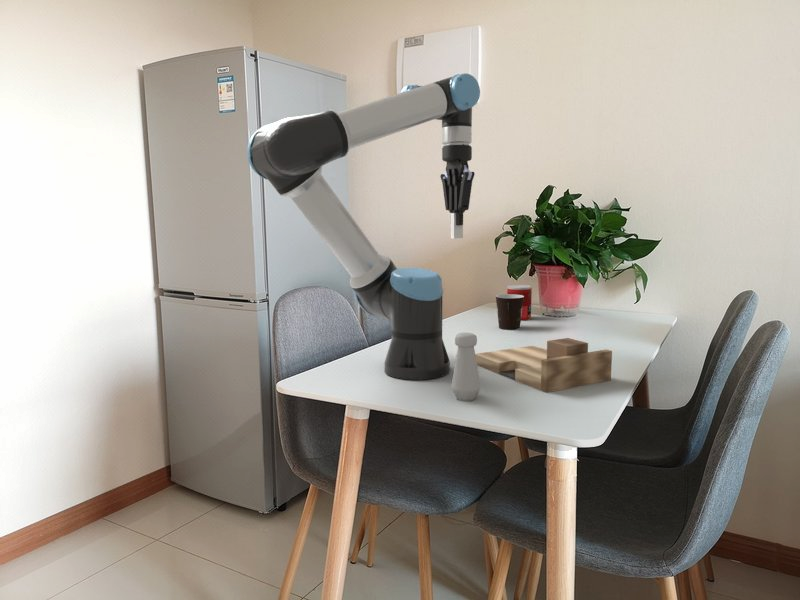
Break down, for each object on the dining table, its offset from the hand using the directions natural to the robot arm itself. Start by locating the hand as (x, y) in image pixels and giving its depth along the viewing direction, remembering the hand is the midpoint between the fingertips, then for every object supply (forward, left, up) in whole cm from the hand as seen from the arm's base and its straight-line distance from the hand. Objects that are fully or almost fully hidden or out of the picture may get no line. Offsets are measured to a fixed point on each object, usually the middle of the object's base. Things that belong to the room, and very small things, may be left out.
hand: (456, 238), depth 158 cm
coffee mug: (+28, +15, -30) cm, 43 cm away
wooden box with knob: (+4, -29, -29) cm, 41 cm away
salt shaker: (-21, -37, -30) cm, 52 cm away
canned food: (+42, +27, -30) cm, 58 cm away
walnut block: (+4, -37, -27) cm, 46 cm away
